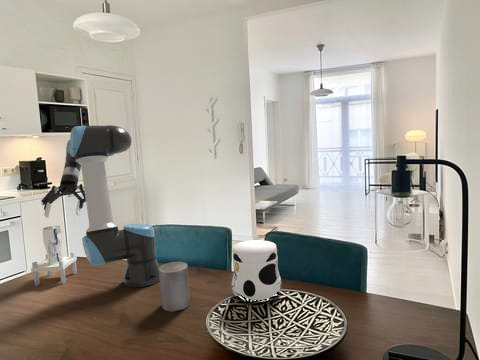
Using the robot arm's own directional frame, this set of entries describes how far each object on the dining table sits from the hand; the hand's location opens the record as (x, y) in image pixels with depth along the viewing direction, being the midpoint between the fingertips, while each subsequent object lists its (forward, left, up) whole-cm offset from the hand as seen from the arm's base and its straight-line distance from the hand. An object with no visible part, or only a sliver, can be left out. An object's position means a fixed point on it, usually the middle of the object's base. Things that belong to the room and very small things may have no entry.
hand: (61, 215), depth 160 cm
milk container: (-84, +41, -26) cm, 97 cm away
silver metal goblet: (0, +11, -18) cm, 21 cm away
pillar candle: (-56, +44, -26) cm, 76 cm away
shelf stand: (0, +11, -26) cm, 28 cm away
